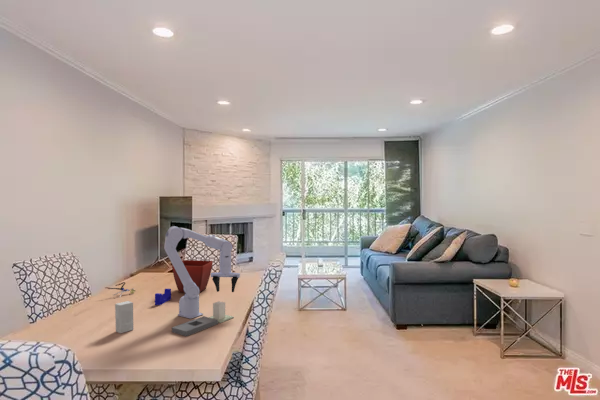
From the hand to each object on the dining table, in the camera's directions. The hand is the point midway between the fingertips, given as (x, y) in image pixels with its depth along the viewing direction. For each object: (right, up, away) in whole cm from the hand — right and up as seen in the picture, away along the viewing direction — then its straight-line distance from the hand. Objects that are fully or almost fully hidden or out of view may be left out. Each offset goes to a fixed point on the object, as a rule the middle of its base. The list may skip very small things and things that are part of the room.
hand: (225, 291), depth 194 cm
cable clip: (-38, -10, +17) cm, 43 cm away
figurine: (-65, -10, +30) cm, 73 cm away
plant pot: (-28, -9, +42) cm, 51 cm away
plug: (-1, -10, -12) cm, 15 cm away
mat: (0, -10, -12) cm, 15 cm away
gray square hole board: (-9, -10, -24) cm, 28 cm away
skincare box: (-38, -11, -28) cm, 48 cm away
